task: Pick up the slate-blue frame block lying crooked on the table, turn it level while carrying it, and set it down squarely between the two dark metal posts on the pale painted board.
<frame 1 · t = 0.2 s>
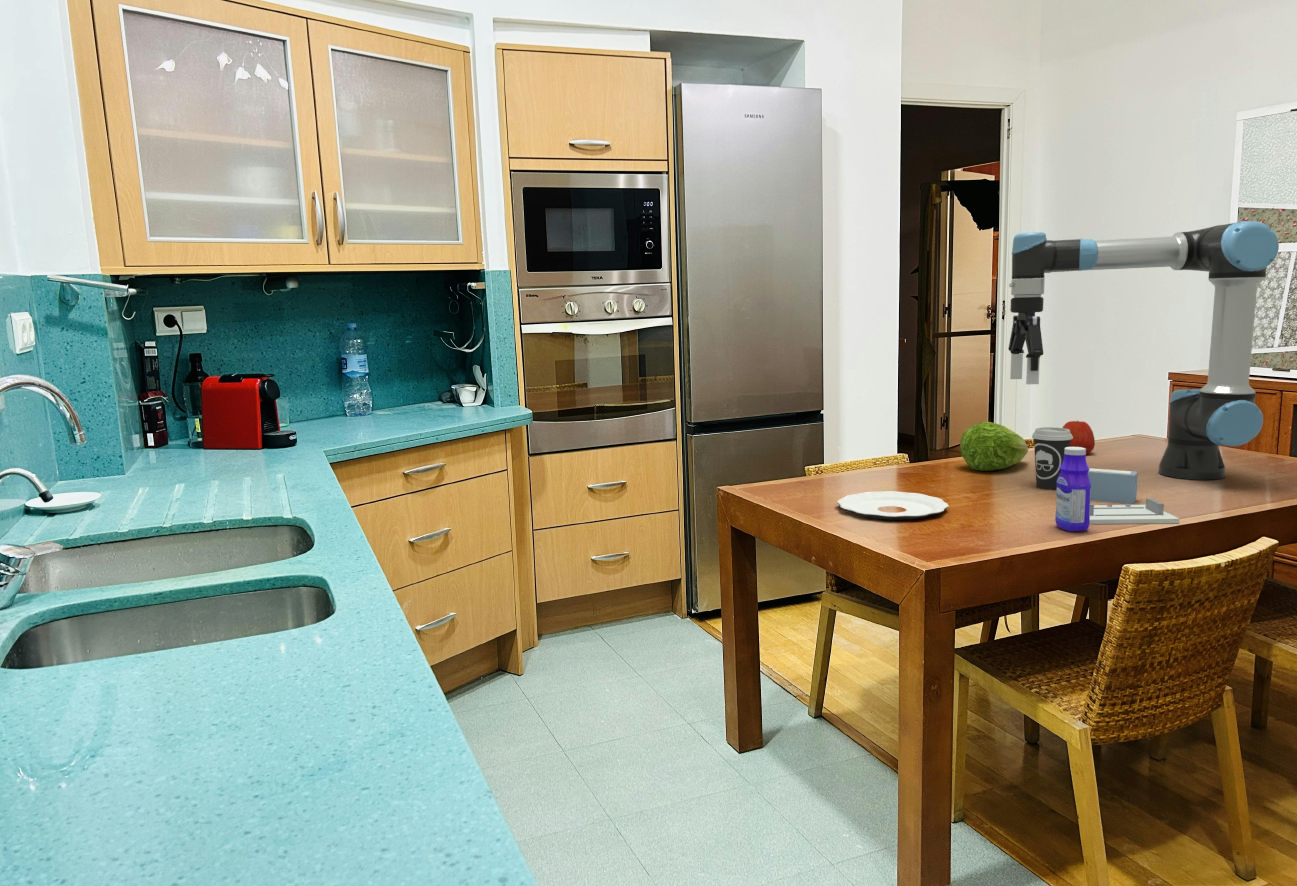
hand: (1024, 381, 221), 27 cm above the table, fingers open, 13 cm apart
lettuce: (998, 468, 253), on the table
frame block: (1106, 500, 211), on the table
coffee cup: (1050, 487, 226), on the table
bottle: (1071, 529, 186), on the table
apple: (1075, 454, 270), on the table
wall board: (1119, 516, 195), on the table
plate: (891, 511, 208), on the table
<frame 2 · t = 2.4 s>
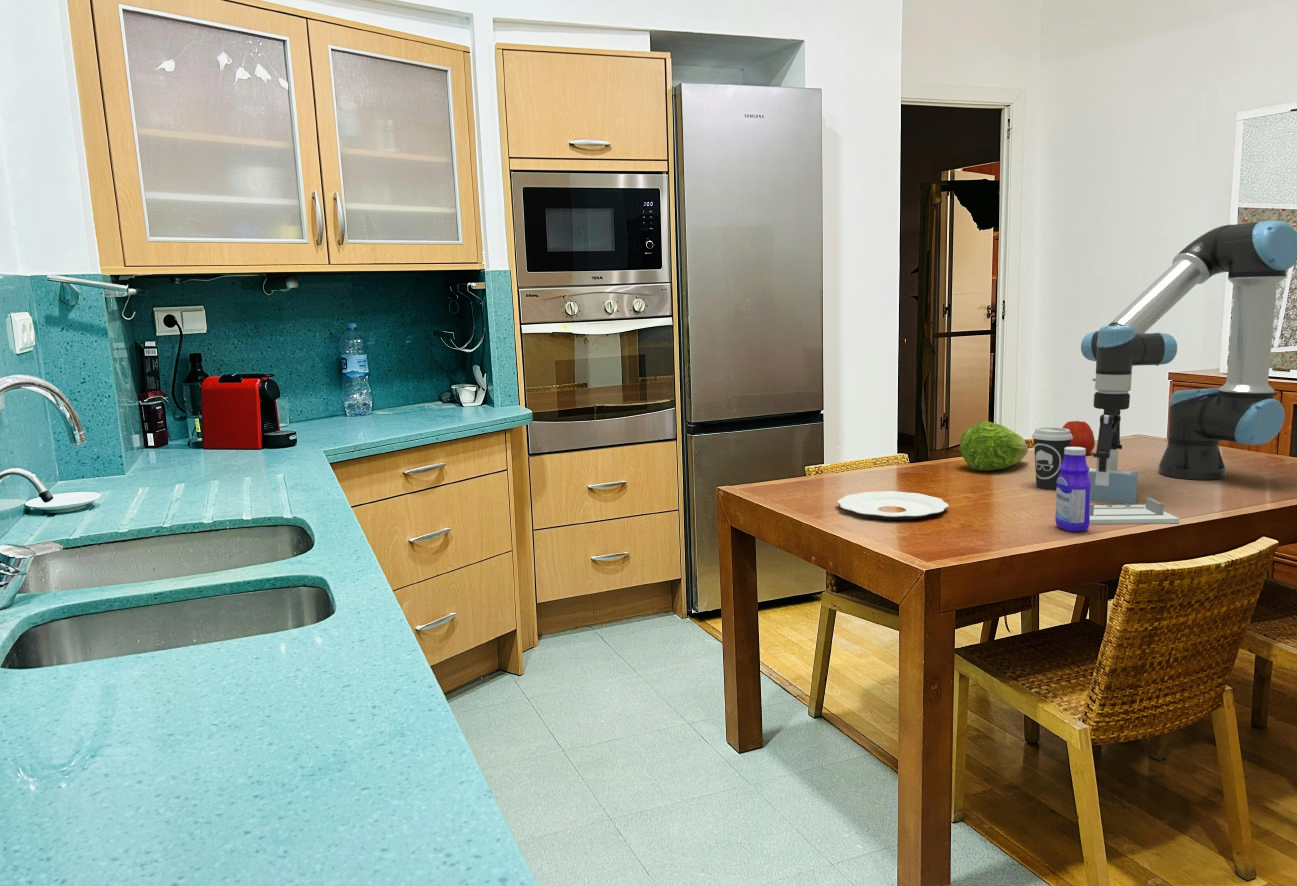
hand: (1106, 480, 210), 5 cm above the table, fingers open, 13 cm apart
nothing on the table moved.
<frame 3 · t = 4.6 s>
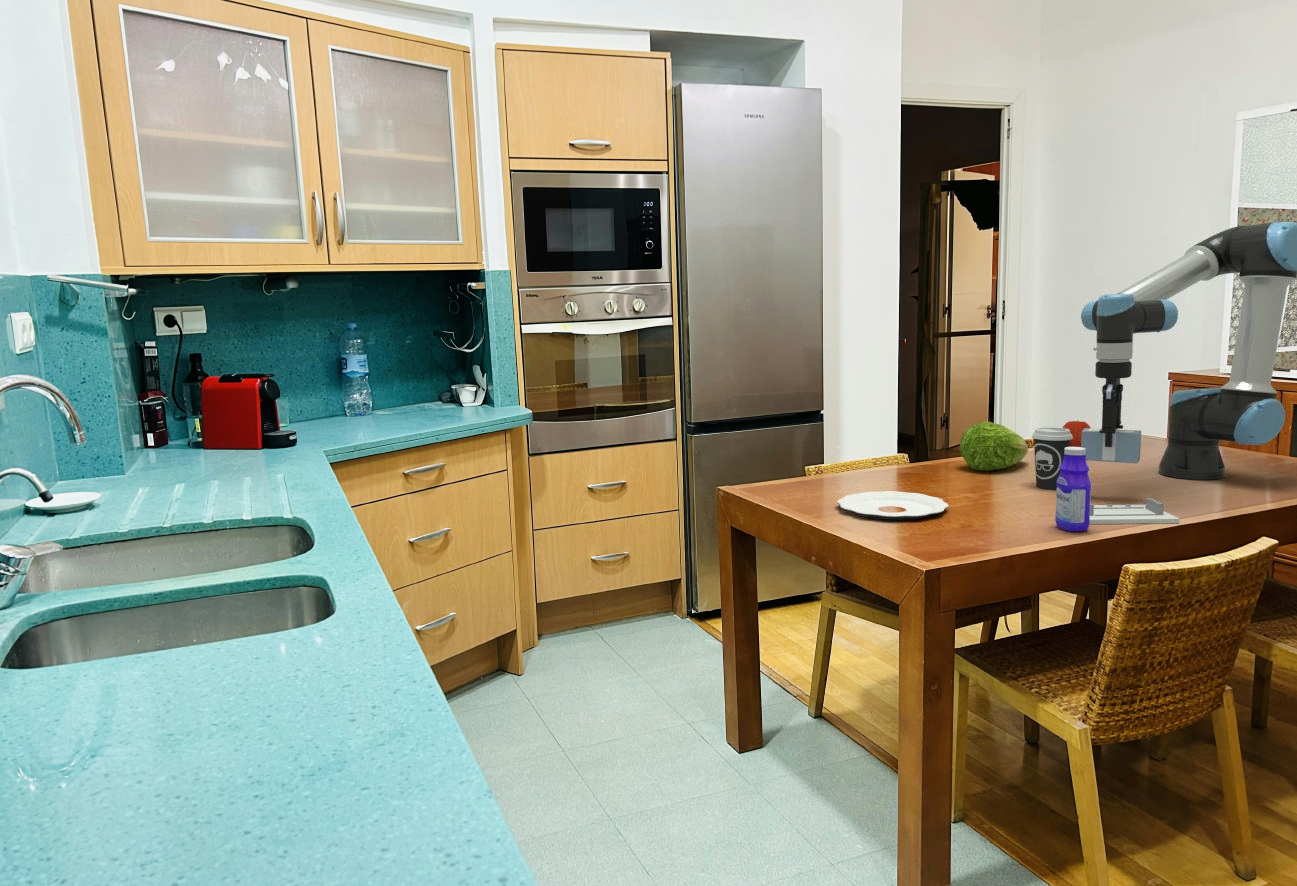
hand: (1110, 457, 209), 10 cm above the table, fingers closed on frame block, 5 cm apart
frame block: (1110, 459, 209), point 10 cm above the table, touching gripper
everything else where it was.
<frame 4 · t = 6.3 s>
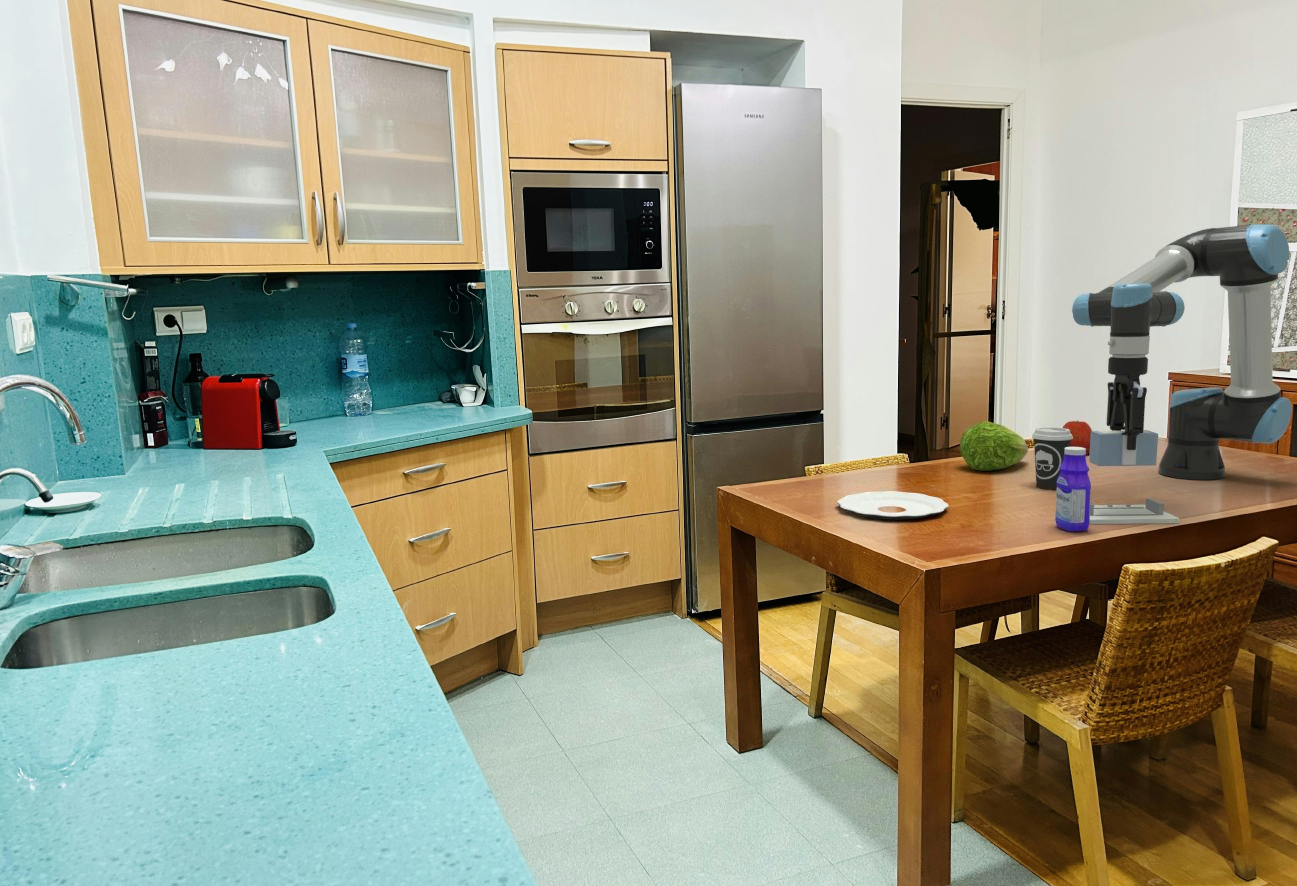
hand: (1122, 461, 193), 12 cm above the table, fingers closed on frame block, 5 cm apart
frame block: (1122, 463, 193), point 12 cm above the table, touching gripper
everything else where it was.
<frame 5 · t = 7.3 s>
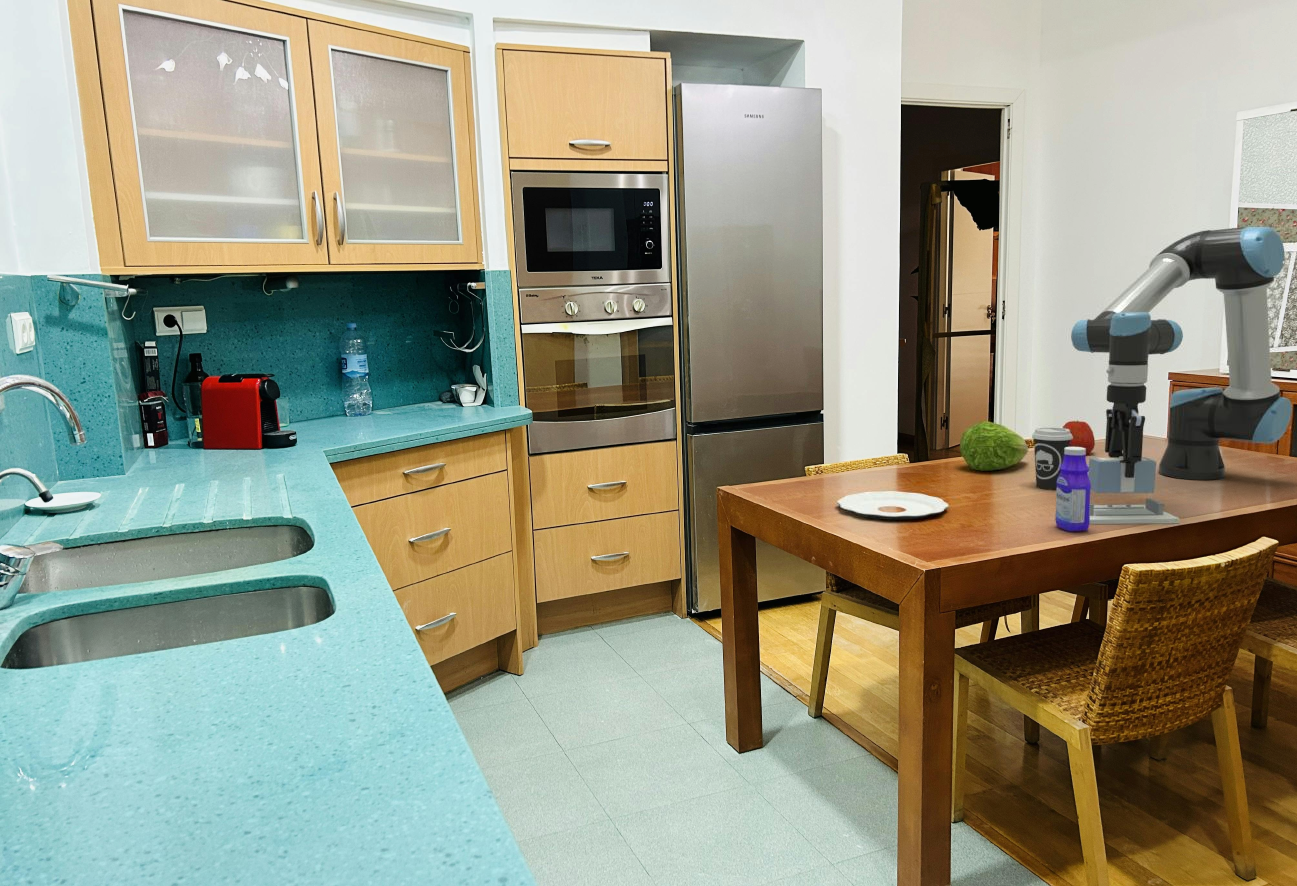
hand: (1120, 488, 194), 6 cm above the table, fingers closed on frame block, 5 cm apart
frame block: (1120, 490, 194), point 6 cm above the table, touching gripper
everything else where it was.
when the fingers open (2 cm above the table, at t = 8.3 s): frame block stays where it is, resting on wall board.
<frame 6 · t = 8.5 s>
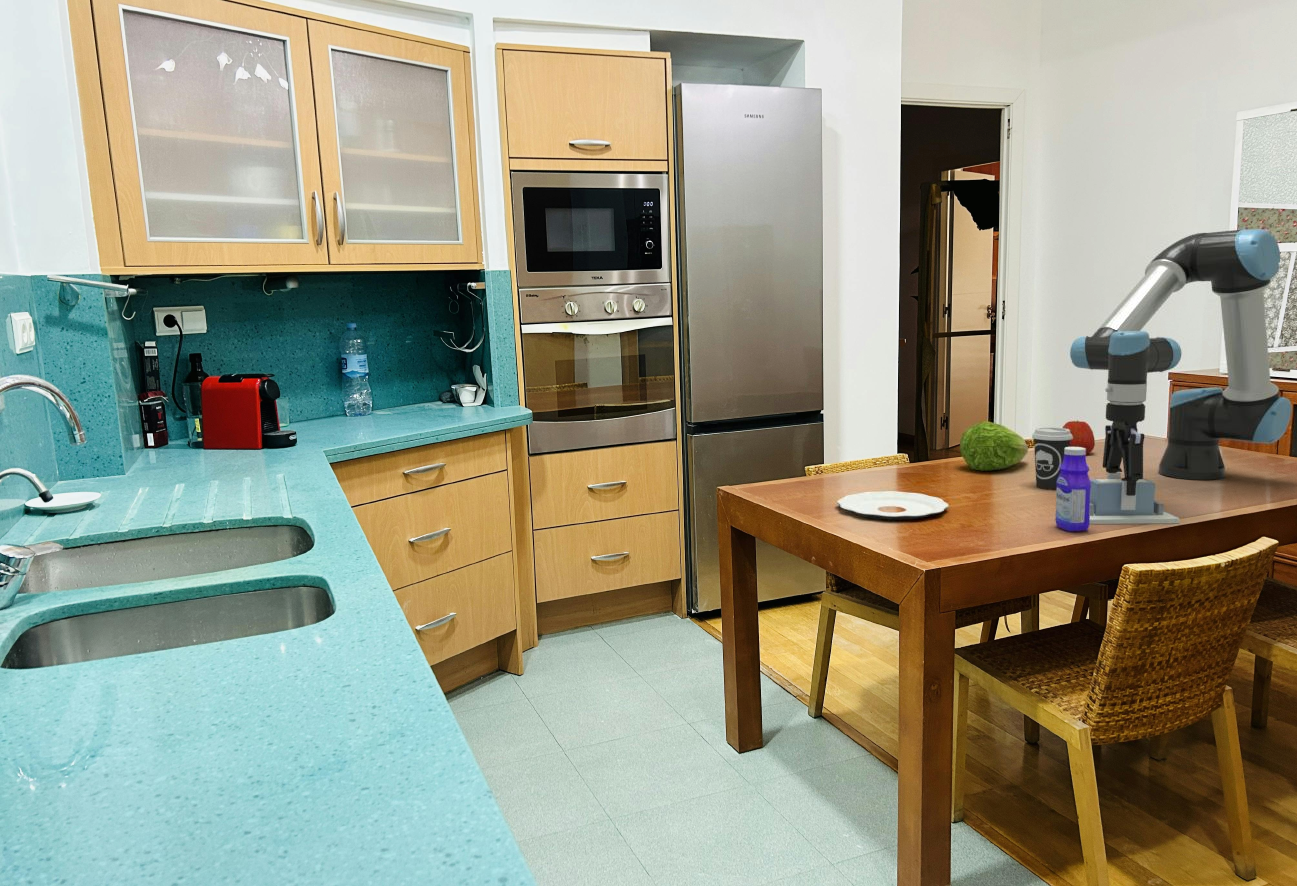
hand: (1120, 505, 195), 3 cm above the table, fingers open, 7 cm apart
frame block: (1119, 511, 195), point 1 cm above the table, touching wall board
everything else where it was.
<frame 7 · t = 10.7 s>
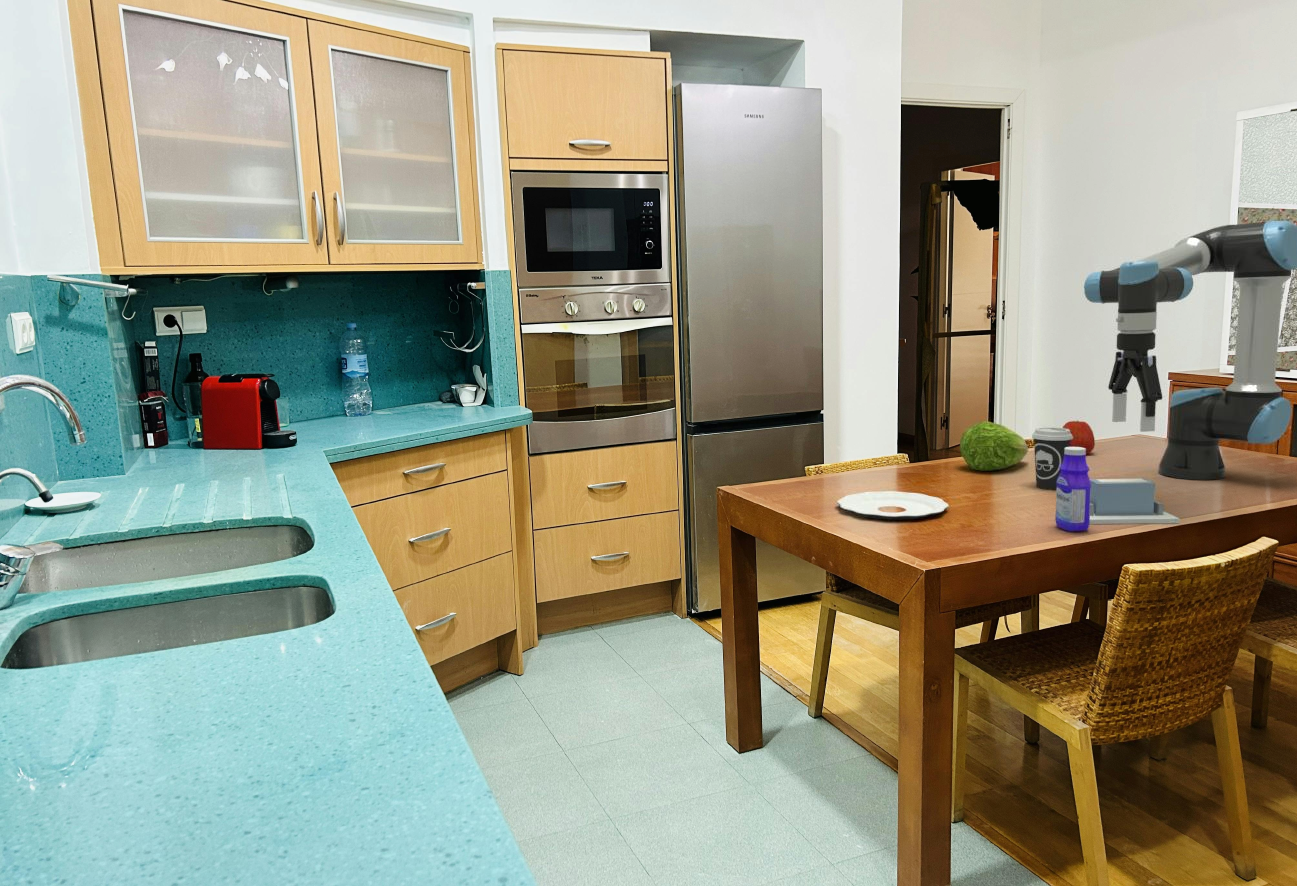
hand: (1132, 426, 198), 19 cm above the table, fingers open, 13 cm apart
nothing on the table moved.
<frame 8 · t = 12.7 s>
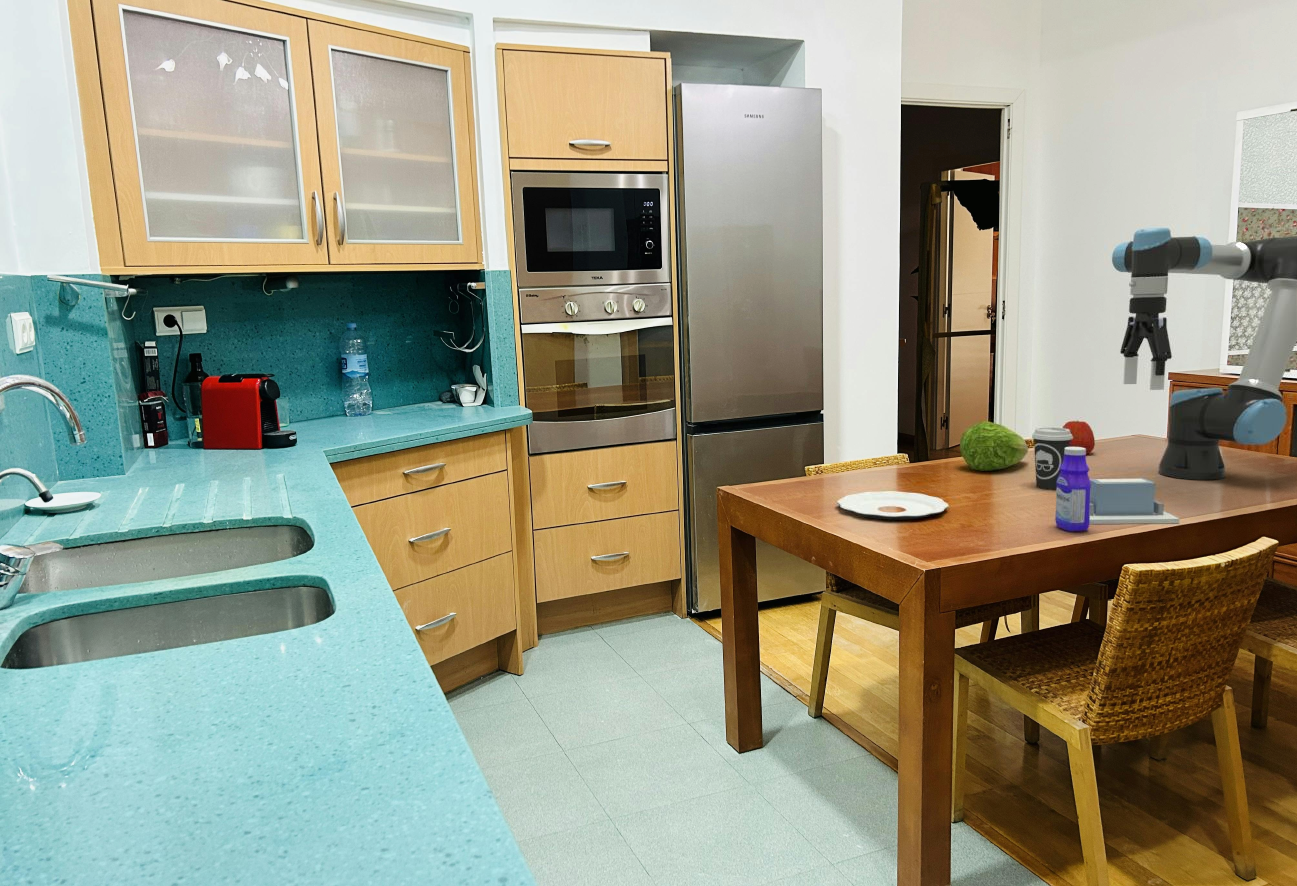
hand: (1142, 386, 208), 27 cm above the table, fingers open, 13 cm apart
nothing on the table moved.
at the end: frame block 0.0 cm off-centre on the wall board, point 1.0 cm above the wall board's base; frame block tilted 0°; the gripper is holding nothing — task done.
